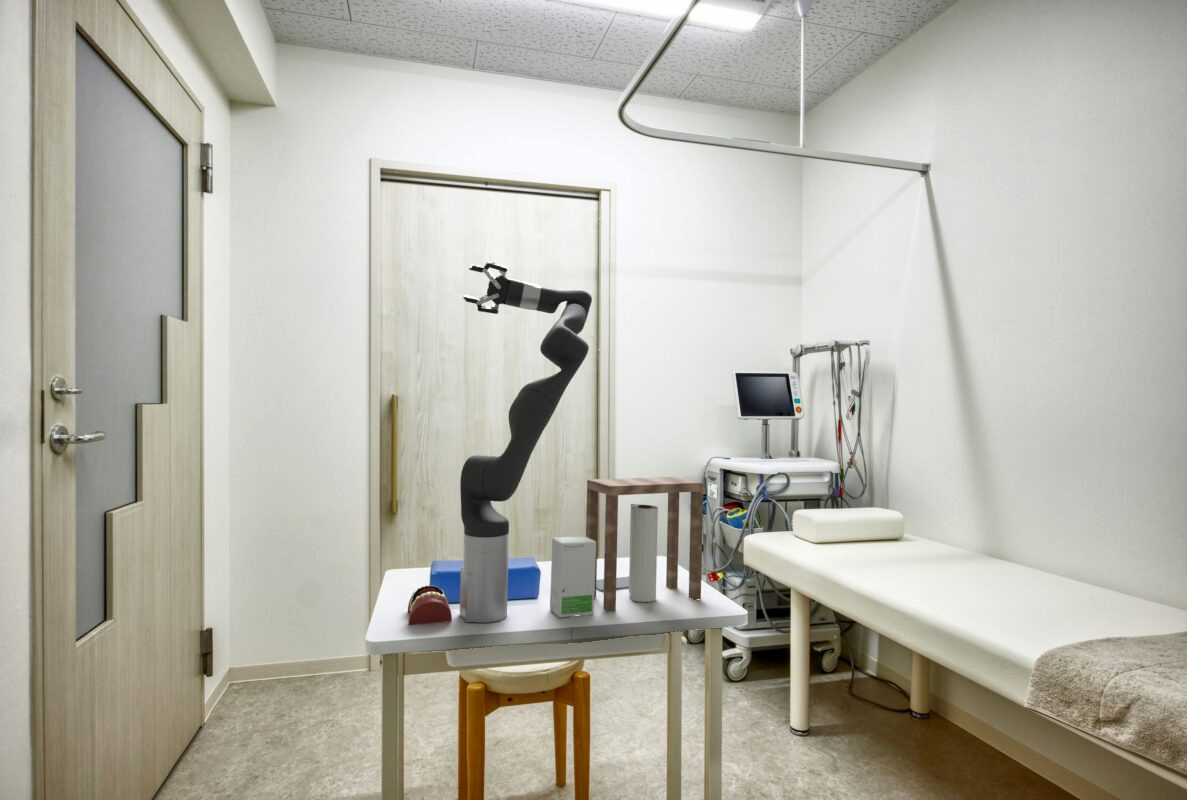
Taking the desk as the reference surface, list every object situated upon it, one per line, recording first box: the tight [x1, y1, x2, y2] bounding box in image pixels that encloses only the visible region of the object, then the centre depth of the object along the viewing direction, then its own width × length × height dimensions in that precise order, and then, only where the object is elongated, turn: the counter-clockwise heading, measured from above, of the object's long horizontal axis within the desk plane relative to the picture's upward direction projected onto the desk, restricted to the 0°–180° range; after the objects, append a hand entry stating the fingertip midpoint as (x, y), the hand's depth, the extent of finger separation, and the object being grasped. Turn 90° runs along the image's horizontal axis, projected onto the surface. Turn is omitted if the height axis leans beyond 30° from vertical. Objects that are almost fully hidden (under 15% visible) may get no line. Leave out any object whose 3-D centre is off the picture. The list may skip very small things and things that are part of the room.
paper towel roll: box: [628, 503, 659, 603], centre depth 146 cm, size 7×6×21 cm
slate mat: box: [596, 576, 629, 592], centre depth 157 cm, size 14×8×1 cm, turn 115°
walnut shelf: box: [585, 476, 704, 613], centre depth 146 cm, size 24×12×27 cm, turn 115°
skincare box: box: [549, 536, 596, 618], centre depth 136 cm, size 8×7×16 cm
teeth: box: [407, 585, 453, 626], centre depth 131 cm, size 8×6×12 cm
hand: (466, 282), depth 179 cm, fingers open, 8 cm apart
